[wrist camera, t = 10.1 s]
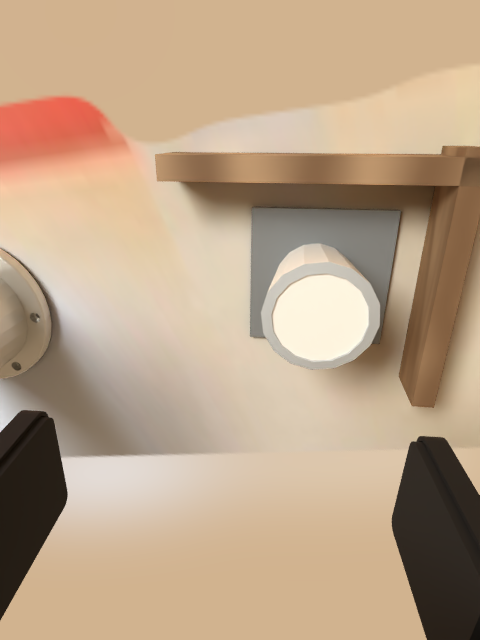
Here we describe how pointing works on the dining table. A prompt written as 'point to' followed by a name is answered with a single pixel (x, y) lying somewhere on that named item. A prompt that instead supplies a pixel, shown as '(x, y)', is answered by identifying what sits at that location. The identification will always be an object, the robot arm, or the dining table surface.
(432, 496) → the robot arm
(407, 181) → the wooden corner fence
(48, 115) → the dining table surface
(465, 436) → the dining table surface
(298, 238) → the pad
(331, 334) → the white cup
